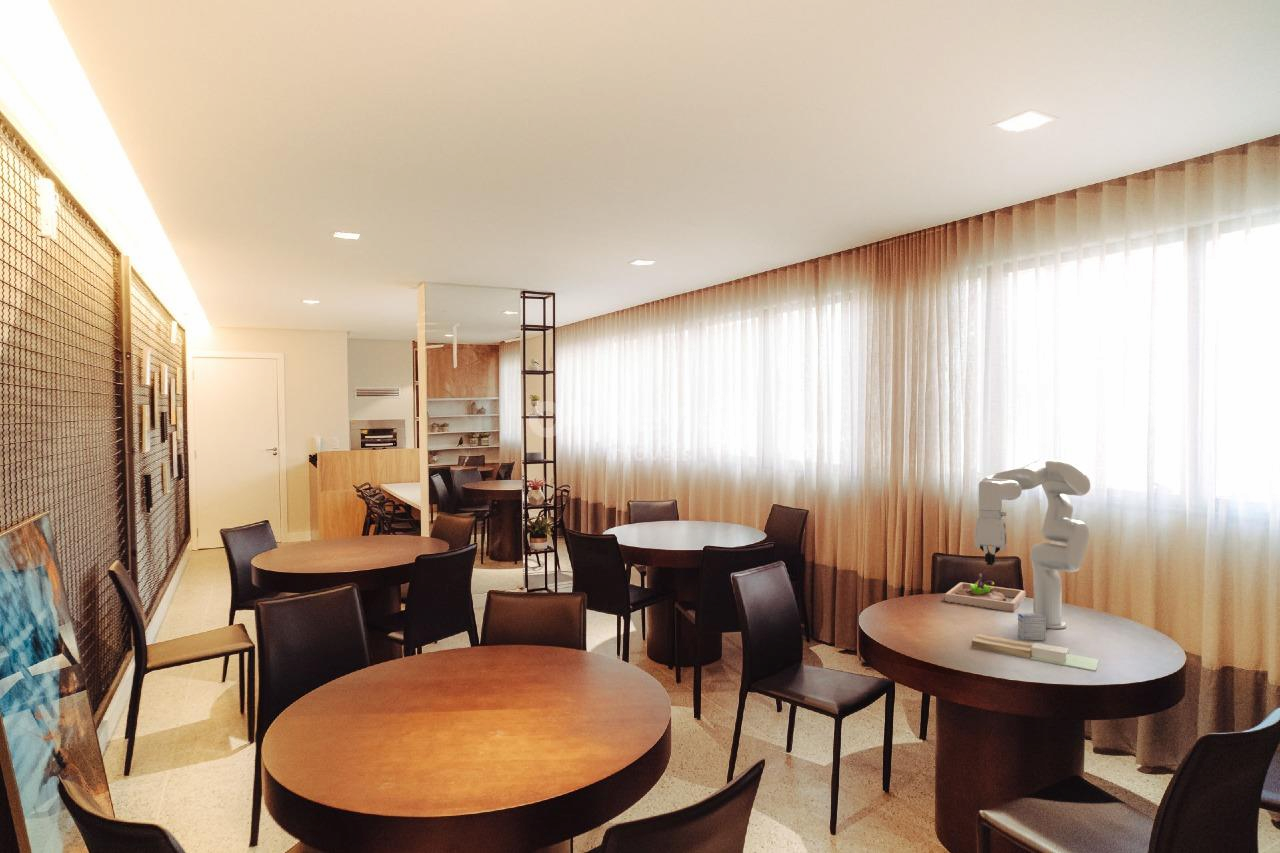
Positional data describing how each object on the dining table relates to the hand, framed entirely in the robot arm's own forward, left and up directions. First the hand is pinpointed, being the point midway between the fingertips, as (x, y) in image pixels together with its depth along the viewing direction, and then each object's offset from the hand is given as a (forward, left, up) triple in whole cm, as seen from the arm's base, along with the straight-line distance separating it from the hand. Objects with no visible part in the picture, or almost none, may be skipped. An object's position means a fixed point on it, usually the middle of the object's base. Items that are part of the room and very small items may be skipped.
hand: (990, 564), depth 251 cm
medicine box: (-9, +12, -27) cm, 31 cm away
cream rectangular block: (+11, +20, -27) cm, 35 cm away
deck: (+10, +6, -27) cm, 30 cm away
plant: (-59, -15, -28) cm, 67 cm away
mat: (+10, +25, -27) cm, 38 cm away
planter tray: (-57, -13, -27) cm, 64 cm away
